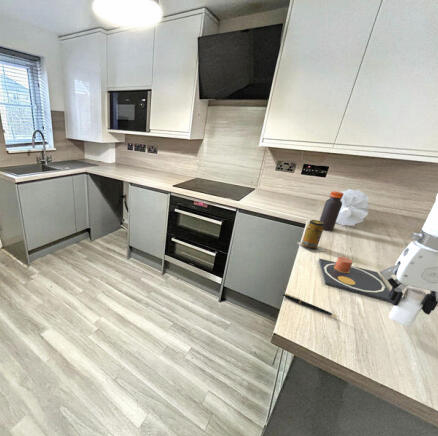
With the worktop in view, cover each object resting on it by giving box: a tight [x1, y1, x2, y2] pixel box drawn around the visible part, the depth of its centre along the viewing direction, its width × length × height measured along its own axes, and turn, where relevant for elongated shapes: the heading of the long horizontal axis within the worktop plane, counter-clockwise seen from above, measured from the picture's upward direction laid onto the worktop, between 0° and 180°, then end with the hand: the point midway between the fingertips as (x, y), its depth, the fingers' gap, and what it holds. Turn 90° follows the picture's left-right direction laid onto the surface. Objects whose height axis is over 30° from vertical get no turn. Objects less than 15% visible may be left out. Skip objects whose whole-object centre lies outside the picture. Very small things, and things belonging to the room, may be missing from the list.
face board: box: [318, 257, 391, 303], centre depth 83 cm, size 18×18×1 cm
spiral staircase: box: [335, 188, 370, 227], centre depth 135 cm, size 18×18×25 cm
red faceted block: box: [334, 256, 354, 272], centre depth 87 cm, size 4×4×4 cm
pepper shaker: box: [388, 286, 427, 328], centre depth 59 cm, size 4×4×10 cm
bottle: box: [319, 190, 343, 232], centre depth 123 cm, size 7×7×20 cm
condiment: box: [297, 219, 326, 253], centre depth 103 cm, size 7×8×12 cm
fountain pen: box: [282, 293, 339, 318], centre depth 69 cm, size 14×1×2 cm, turn 52°
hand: (408, 305), depth 59 cm, fingers closed on pepper shaker, 5 cm apart
